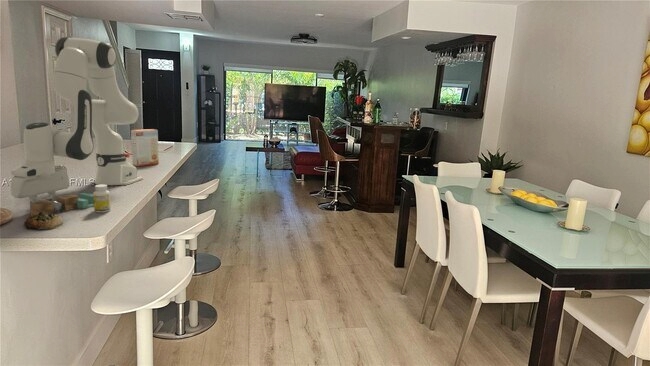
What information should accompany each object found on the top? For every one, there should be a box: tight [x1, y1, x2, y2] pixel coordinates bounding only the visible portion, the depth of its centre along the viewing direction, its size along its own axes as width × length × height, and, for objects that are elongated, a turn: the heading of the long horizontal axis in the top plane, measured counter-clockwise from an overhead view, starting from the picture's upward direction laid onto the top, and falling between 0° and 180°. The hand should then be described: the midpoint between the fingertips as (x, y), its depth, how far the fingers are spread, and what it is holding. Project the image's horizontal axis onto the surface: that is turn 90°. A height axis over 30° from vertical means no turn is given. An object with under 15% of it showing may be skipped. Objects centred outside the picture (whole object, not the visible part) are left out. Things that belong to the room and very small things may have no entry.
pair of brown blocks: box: [29, 194, 79, 216], centre depth 154 cm, size 16×4×4 cm, turn 162°
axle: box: [29, 197, 64, 214], centre depth 155 cm, size 4×12×4 cm, turn 72°
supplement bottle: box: [92, 184, 111, 213], centre depth 158 cm, size 5×5×10 cm
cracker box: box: [130, 128, 160, 167], centre depth 250 cm, size 14×6×21 cm, turn 144°
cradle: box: [76, 192, 94, 210], centre depth 165 cm, size 10×10×3 cm
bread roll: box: [23, 212, 64, 231], centre depth 140 cm, size 11×11×5 cm
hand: (43, 204), depth 156 cm, fingers closed on axle, 4 cm apart
